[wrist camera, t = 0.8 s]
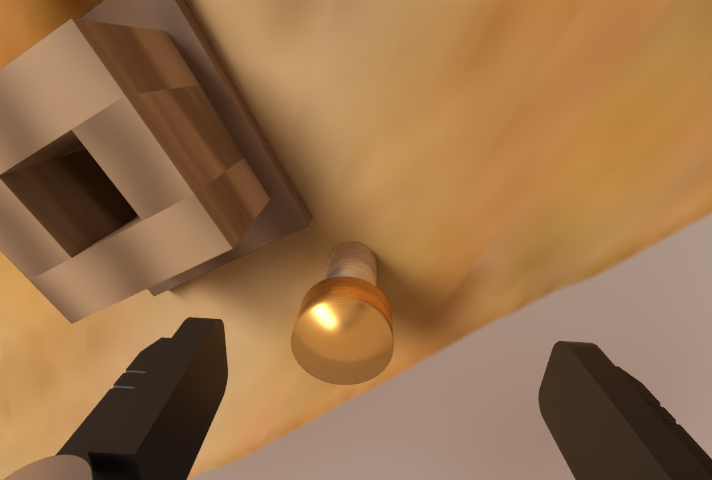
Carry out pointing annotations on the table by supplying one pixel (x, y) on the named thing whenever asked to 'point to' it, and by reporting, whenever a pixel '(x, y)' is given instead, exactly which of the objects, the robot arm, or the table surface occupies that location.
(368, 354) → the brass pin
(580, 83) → the table surface
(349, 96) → the table surface
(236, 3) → the table surface
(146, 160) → the hitch block
